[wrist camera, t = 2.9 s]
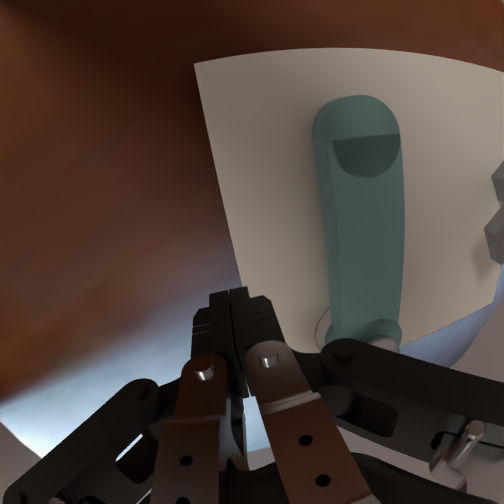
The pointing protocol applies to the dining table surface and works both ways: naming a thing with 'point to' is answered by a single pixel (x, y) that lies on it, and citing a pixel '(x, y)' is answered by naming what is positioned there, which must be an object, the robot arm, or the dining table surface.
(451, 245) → the base board
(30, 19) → the dining table surface
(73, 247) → the dining table surface
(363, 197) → the teal link bar
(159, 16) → the dining table surface
